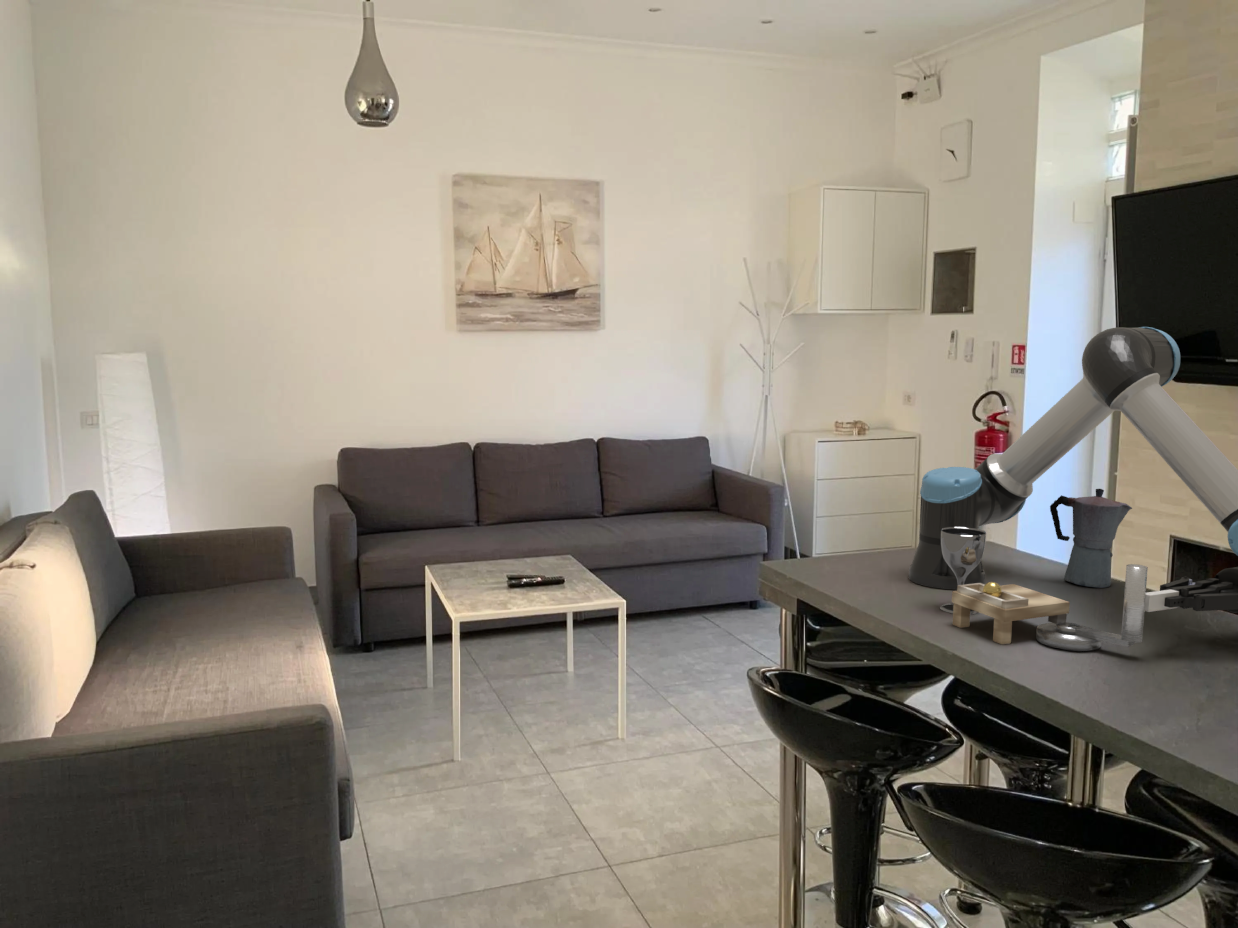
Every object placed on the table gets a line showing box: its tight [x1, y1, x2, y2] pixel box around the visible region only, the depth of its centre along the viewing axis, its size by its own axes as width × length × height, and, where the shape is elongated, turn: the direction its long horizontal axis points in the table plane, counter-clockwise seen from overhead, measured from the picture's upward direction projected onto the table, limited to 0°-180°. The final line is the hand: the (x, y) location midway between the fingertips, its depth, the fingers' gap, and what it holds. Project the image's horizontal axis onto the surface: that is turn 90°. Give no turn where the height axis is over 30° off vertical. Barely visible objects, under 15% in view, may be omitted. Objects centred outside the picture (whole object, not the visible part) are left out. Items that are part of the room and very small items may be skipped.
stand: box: [951, 583, 1071, 645], centre depth 173 cm, size 13×14×7 cm
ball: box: [983, 581, 1001, 598], centre depth 171 cm, size 3×3×3 cm
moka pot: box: [1049, 488, 1133, 589], centre depth 205 cm, size 10×15×20 cm, turn 78°
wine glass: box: [939, 527, 987, 616], centre depth 185 cm, size 8×8×15 cm
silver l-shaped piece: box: [1035, 563, 1149, 652], centre depth 163 cm, size 16×10×15 cm, turn 42°
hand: (1145, 602), depth 158 cm, fingers closed
